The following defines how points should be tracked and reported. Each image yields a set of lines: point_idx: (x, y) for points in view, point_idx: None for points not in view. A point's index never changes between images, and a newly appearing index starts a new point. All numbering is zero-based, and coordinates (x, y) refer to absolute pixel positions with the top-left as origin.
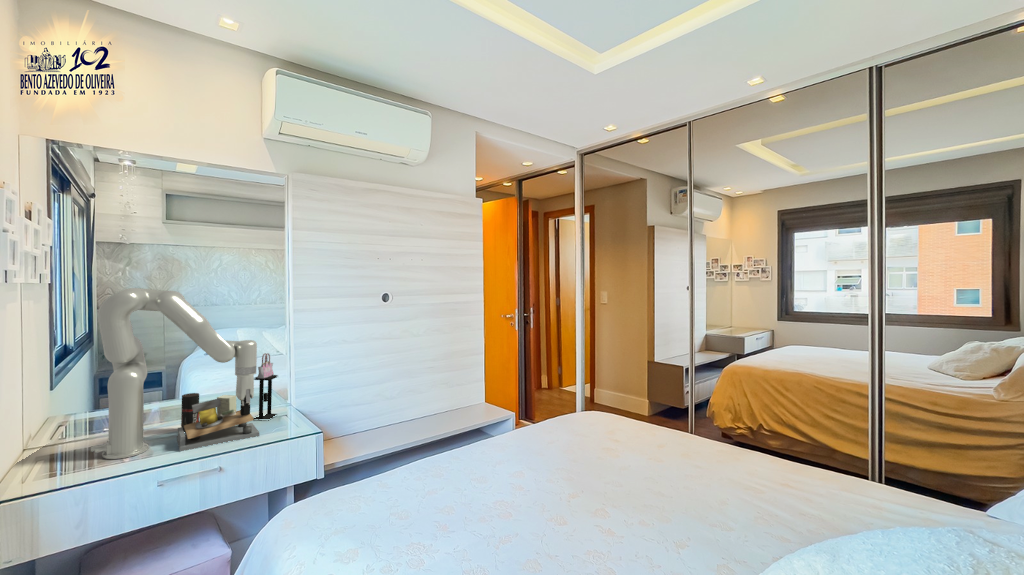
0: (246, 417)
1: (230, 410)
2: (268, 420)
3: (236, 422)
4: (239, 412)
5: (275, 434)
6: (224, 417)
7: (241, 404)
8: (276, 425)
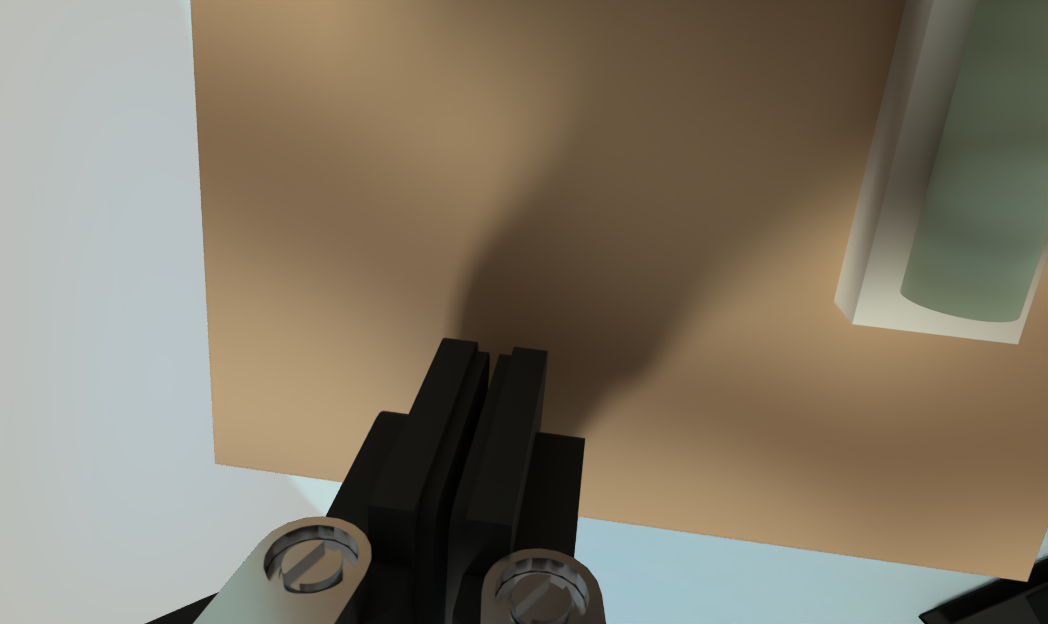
0: (338, 379)
1: (981, 234)
2: (929, 621)
3: (204, 130)
4: (897, 398)
5: (313, 488)
6: (906, 8)
7: (504, 563)
8: (644, 605)
